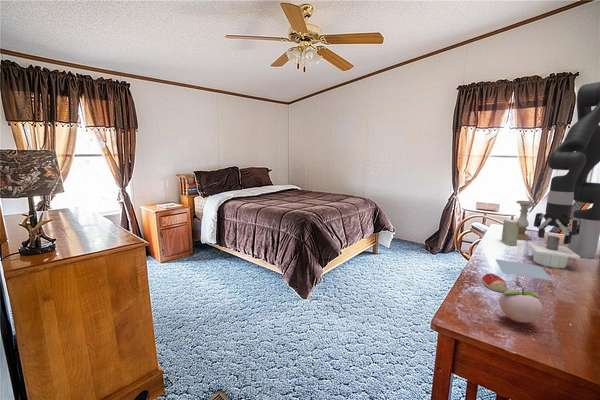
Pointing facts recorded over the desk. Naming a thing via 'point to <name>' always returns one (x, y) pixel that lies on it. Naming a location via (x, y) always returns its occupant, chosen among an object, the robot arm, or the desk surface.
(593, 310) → the desk surface
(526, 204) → the candle holder
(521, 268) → the mat
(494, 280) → the ladybug figurine
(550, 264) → the bowl
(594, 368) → the desk surface
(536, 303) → the decorative fruit
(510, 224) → the skincare box
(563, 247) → the lid
